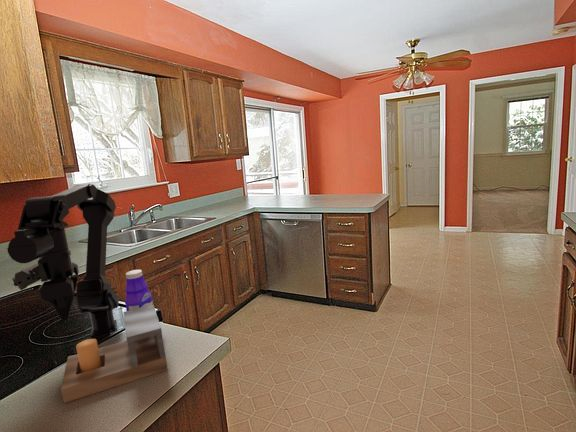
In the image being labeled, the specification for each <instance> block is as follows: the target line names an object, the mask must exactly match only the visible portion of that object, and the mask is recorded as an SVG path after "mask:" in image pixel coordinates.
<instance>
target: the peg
mask: <svg viewBox="0 0 576 432" xmlns="http://www.w3.org/2000/svg"><path fill="white" fill-rule="evenodd" d="M98 348H99V345H98V339H96V338H88V339H85V340H82V341H81V342H79V343H77V344H76V346H75V349H76V353H77V354H78V359H79V363H80V368H81V373H84V372H87V371H90V370H94V369H97V368H100V367H102V365H101V360H100V355H99V350H98Z"/></svg>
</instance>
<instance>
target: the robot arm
mask: <svg viewBox="0 0 576 432" xmlns="http://www.w3.org/2000/svg"><path fill="white" fill-rule="evenodd" d="M74 207H77V209H79V210H80V211H81V212H82V219H84V220H85V222H86V224H87V225H88V226H87V227H88V228H87V244H86V245H87V246H86V260H85V261H86V263H85V264H86V266H85V276H84V277H83V278H82V279H81V280H78V279H79V272H80V270H79V266H78V264H77V263H75V262H73V261H72V260H71V256H72V253H71V250H70V249H69V244H68V239H67V233H66V230H65V228H67V227H69V224H68V223H67V222H66V221H64V219H65V218H66V217H67V216H68V215H69V214H70V211H69V210H70V209H72V208H74ZM116 207H117V205H116V202H115V200H114V199H113V197H111V195H110V194H109V193H107V192H105V191H103V190H101V189H99V188H97V187H96V186H95V185H94V184H91V183H84V184H83V183H82V184H76V185H73V187H70V188H68V189H66V190H62V191H60V192H58V193H55V194H54V195H47V196H38V197H30V198H28V199H26V201H25V203H24V205H23V208H22V212H21V216H20V219H19V223H18V227H17V230H14V237H13V238H11V240H10V241H9V243H8V244H7V245H8V246H7V248H6V249H7V253H8V256H9V257H10V258H11V260H13V261H15V262H16V263H19V264H28V263H31V262H33V261H35V260H37V259H38V260H37V263H36V264H33V265H31V266H29V267H27V268H22V269H21V270H20V271H16V272H15V274H14V276H13V277H12V278H11V280H12V281H13V286H15V287H17V288H18V289H19V290H20V291H23V290H25V289H27V288H28V286H31V285H33V284H35V283H37V282H39V281H41V283H42V284H41V285H40V287H39V288H38V290H37V294H38V299H39V300H40V301H43V302H47V303H50V304H51V305H52V306H53V308H54V309H55V311H56V313H57V314H58V316H59V318H60V320H61V321H62V322H65V321H68V320H69V316H70V311H71V307H72V305H73V301H74V298H75V303H76V306H77V307H78V310H79V311H80V313H81V314H82V315H83V314H87V313H89V317H90V318H89V319H90V322H91V330H90V336H91V337H94V336H99V335H102V334H105V333H110V332H113V331H117V329H118V326H117V323H118V322H117V319H115V318H114V312H113V310H114V309H117V308H118V307H119V304H120V303H119V302H120V300H119V296H118V295H117V294H116V292H114V291H113V290H112V284H111V282H110V281H109V279H108V277H107V276H106V265H107V264H106V262H107V239H108V238H107V237H108V226H109V225H110V224H111V223H112V222H113V220H114V216H115V211H116ZM75 292H76V294H75ZM74 296H75V297H74Z"/></svg>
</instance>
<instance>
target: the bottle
mask: <svg viewBox="0 0 576 432" xmlns="http://www.w3.org/2000/svg"><path fill="white" fill-rule="evenodd" d="M125 278H126V279H125V280H126V286H125V289H124V291H125V292H126V296H125V299H124V304H125V309H126V311H130V310H134V309H138V308H142V307H146V306H150V305H154V302H153V297H152V293H151V290H150V289H149V288H148V286H149V285H148V283H147V282H146V281H145V279H144V275H143V271H142V269H133V270H130V271H127V272H126V273H125Z"/></svg>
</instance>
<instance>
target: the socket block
mask: <svg viewBox="0 0 576 432" xmlns="http://www.w3.org/2000/svg"><path fill="white" fill-rule="evenodd" d="M123 320H124V321H123V322H124V330H125V338H126V339H125V340H123V341H119V342H116V343H113V344H109V345H105V346H102V347H98V350H99V355H100V360H101V365H102V367H100V368H97V369H94V370H90V371H87V372H84V373H81V368H80V363H79V359H78V354H74V355H68V356H67V359H66V364H65V365H66V366H65V369H64V373H63V378H62V384H61V388H60V391H61V396H62V400H63V404H66V403H69V402H72V401H75V400H78V399H81V398H85V397H88V396H90V395H93V394H97V393H100V392H102V391H105V390H109V389H112V388H115V387H118V386H121V385H124V384H128V383H130V382H133V381H136V380H140V379H143V378H146V377H149V376H152V375H154V374H158V373H160V372H164V371H168V370H169V369H168V363H167V358H166V350H165V344H164V338H163V331H162V327H161V323H160V320H159V317H158V315H157V312H156V308H155V305H154V304H153V305H150V306H146V307H142V308H138V309H134V310H130V311H127V310H126V311H123Z"/></svg>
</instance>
